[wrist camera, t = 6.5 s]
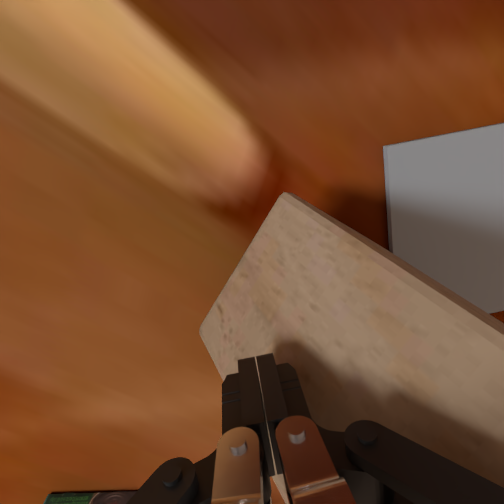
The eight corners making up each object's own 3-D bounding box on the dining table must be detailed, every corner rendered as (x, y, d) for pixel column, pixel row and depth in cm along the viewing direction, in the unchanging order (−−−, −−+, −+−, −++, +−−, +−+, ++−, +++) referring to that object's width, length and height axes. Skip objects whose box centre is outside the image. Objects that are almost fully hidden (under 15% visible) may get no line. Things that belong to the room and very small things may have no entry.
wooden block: (375, 242, 25) (889, 565, 10) (300, 349, 27) (623, 750, 12) (281, 185, 19) (1284, 830, 4) (193, 330, 21) (579, 1111, 6)
